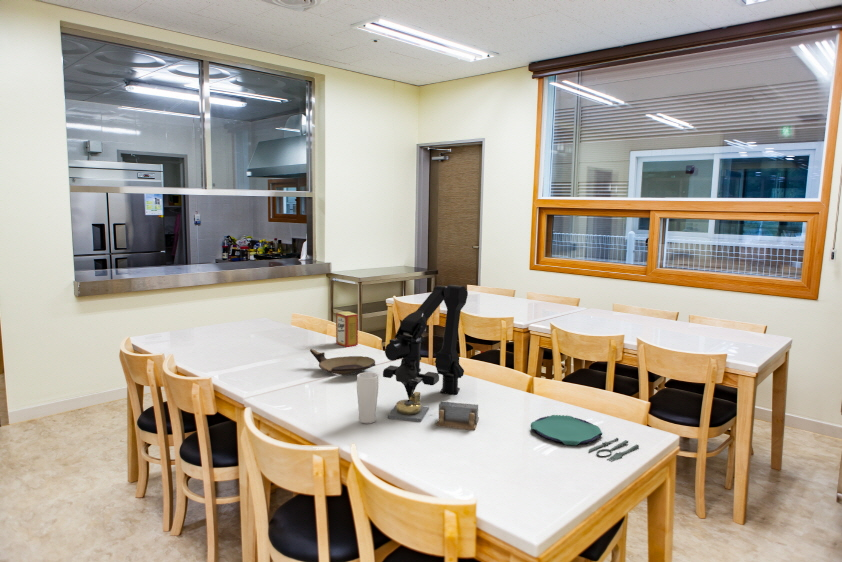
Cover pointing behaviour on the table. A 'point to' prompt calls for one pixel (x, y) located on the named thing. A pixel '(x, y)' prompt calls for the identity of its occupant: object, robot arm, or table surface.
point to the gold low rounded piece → (410, 405)
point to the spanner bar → (458, 411)
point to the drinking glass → (367, 396)
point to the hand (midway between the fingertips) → (409, 399)
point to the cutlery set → (574, 433)
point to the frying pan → (343, 363)
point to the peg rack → (457, 424)
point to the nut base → (413, 417)
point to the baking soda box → (346, 329)
